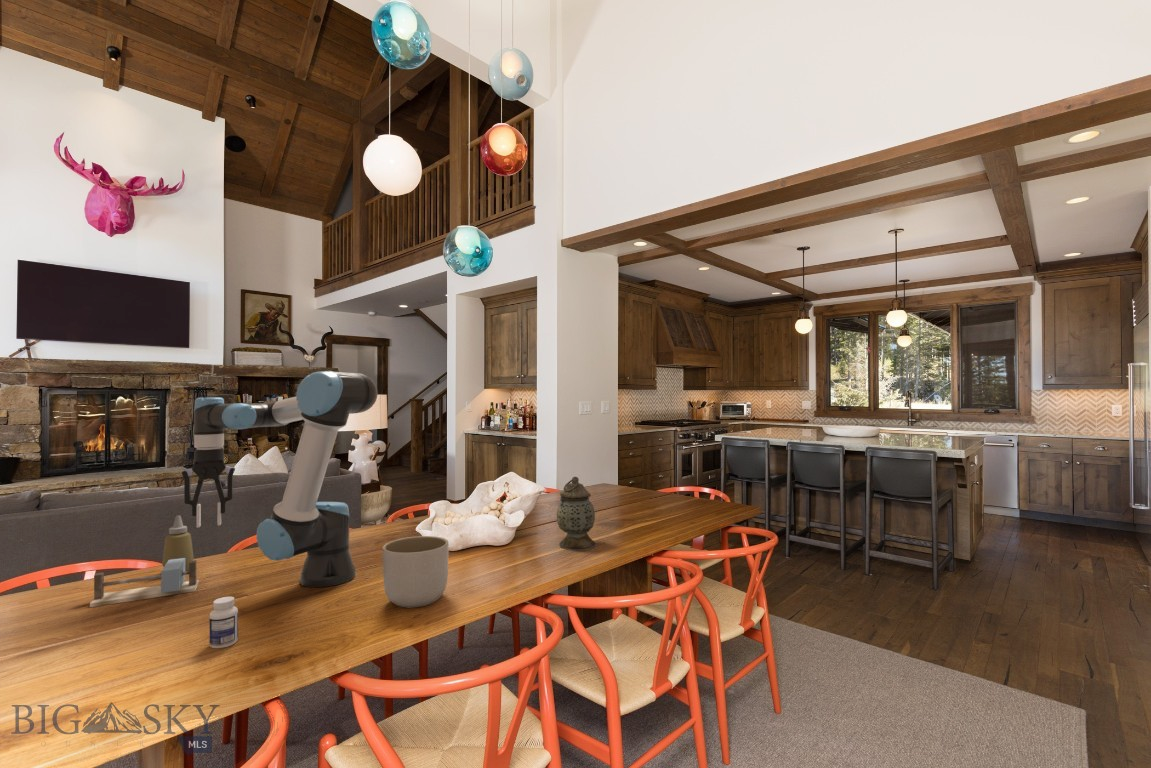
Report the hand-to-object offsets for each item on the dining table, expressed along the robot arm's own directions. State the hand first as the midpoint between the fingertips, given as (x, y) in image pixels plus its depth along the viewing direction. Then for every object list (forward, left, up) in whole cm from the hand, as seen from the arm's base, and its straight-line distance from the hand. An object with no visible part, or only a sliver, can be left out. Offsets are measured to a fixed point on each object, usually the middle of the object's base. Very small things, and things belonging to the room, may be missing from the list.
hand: (209, 525), depth 164 cm
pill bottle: (-42, +32, -17) cm, 55 cm away
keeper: (+2, +9, -15) cm, 18 cm away
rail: (+7, +13, -17) cm, 22 cm away
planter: (-70, -1, -17) cm, 72 cm away
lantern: (-97, -63, -17) cm, 117 cm away
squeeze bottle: (+17, -3, -17) cm, 24 cm away
